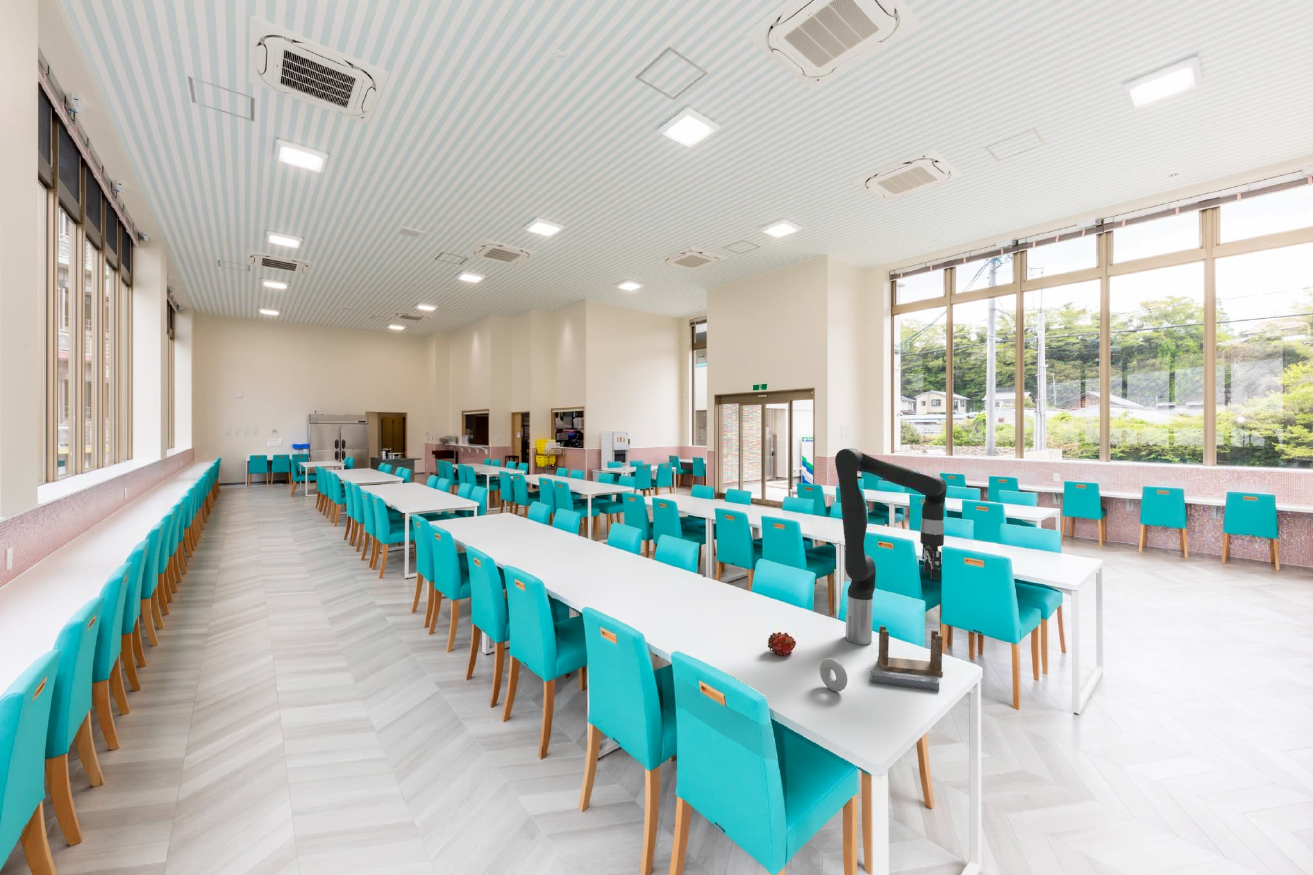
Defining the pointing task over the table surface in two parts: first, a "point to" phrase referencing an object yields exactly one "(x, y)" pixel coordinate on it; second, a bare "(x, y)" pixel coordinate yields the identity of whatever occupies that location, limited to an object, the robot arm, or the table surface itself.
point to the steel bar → (904, 681)
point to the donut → (839, 672)
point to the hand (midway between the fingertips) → (931, 576)
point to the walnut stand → (907, 664)
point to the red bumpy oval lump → (781, 643)
